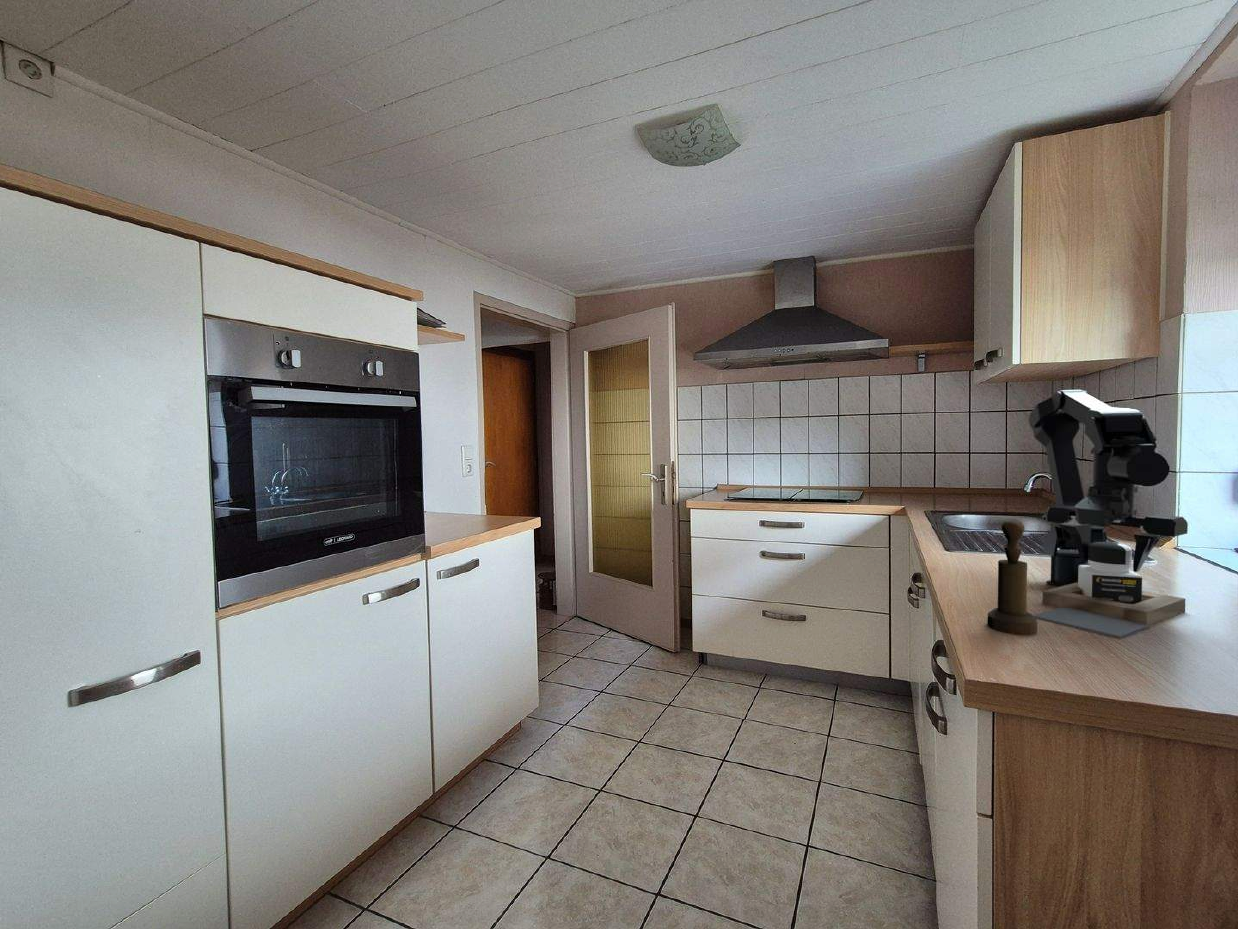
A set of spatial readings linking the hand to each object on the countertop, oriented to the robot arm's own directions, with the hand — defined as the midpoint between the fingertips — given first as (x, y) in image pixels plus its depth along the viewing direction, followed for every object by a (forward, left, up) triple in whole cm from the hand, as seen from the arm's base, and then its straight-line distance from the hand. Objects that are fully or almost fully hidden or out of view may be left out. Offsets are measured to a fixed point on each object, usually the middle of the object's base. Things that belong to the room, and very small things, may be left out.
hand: (1109, 567), depth 104 cm
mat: (+2, -13, -7) cm, 15 cm away
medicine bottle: (-1, +1, -8) cm, 8 cm away
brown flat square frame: (+1, 0, -7) cm, 7 cm away
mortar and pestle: (-2, -27, -8) cm, 28 cm away
